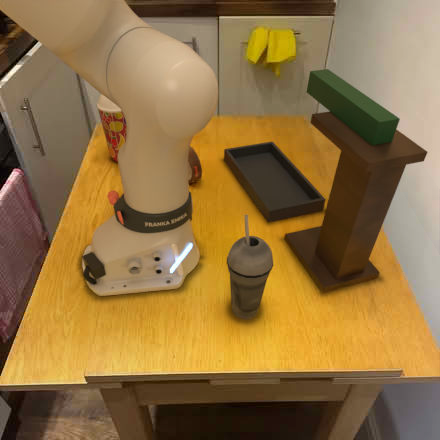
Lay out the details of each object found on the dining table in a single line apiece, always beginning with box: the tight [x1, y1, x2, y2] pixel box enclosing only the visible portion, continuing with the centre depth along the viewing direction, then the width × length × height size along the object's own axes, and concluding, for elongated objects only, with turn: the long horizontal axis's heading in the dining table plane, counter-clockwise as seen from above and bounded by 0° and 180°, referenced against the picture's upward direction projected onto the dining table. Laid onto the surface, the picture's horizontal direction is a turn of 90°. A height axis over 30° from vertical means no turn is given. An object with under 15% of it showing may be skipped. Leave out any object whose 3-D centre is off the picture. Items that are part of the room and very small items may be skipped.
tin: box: [188, 145, 203, 184], centre depth 98 cm, size 15×3×8 cm, turn 34°
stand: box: [284, 110, 429, 293], centre depth 72 cm, size 12×16×26 cm
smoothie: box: [96, 93, 127, 163], centre depth 98 cm, size 8×8×20 cm
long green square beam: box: [306, 68, 401, 145], centre depth 64 cm, size 4×20×4 cm, turn 20°
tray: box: [223, 141, 327, 223], centre depth 98 cm, size 14×28×3 cm, turn 20°
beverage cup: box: [226, 214, 274, 320], centre depth 64 cm, size 7×7×20 cm
